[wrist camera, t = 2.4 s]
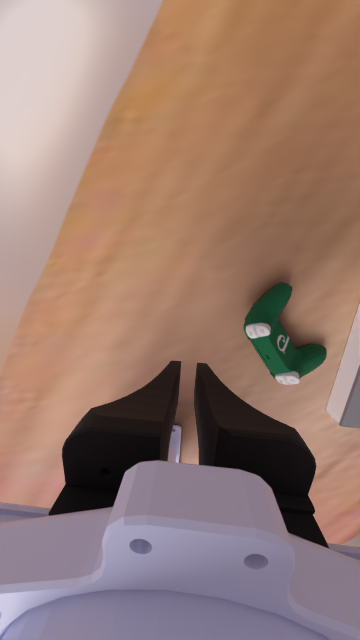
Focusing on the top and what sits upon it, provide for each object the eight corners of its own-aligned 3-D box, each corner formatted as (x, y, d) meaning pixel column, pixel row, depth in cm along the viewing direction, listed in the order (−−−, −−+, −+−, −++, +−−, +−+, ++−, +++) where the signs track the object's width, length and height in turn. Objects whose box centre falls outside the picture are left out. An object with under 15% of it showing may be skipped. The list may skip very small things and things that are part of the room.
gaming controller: (254, 290, 20) (228, 320, 17) (290, 276, 17) (266, 311, 14) (292, 354, 22) (275, 393, 19) (331, 352, 19) (318, 399, 15)
